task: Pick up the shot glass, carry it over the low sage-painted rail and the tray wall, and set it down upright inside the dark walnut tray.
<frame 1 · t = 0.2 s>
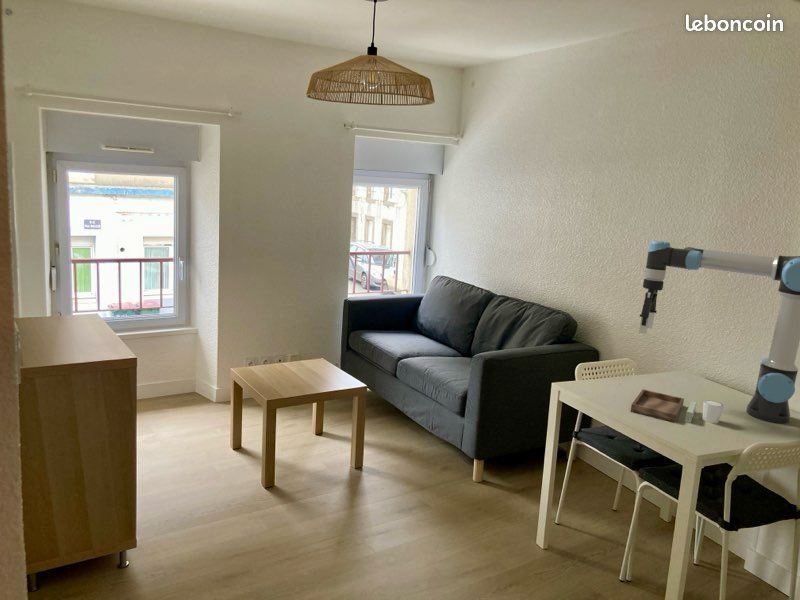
hand: (645, 330, 263), 28 cm above the table, fingers open, 13 cm apart
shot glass: (710, 421, 245), on the table
tray: (657, 408, 253), on the table
rail: (690, 416, 248), on the table
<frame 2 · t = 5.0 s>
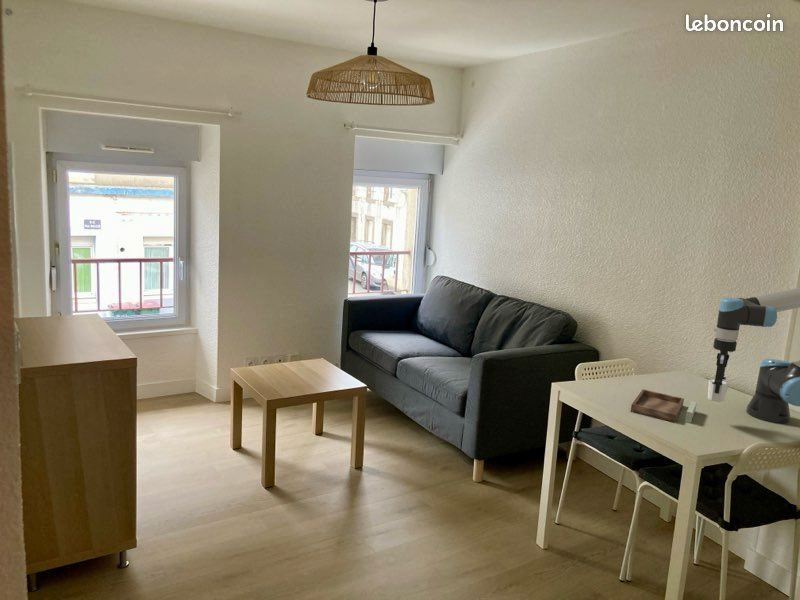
hand: (716, 398, 243), 9 cm above the table, fingers closed on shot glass, 7 cm apart
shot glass: (715, 399, 244), point 8 cm above the table, touching gripper
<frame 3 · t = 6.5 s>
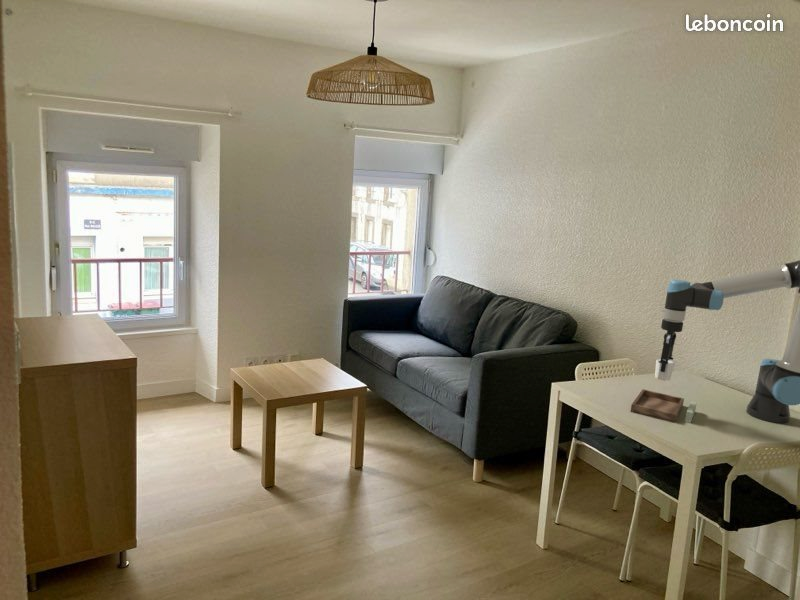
hand: (662, 377, 251), 13 cm above the table, fingers closed on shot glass, 7 cm apart
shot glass: (662, 378, 251), point 12 cm above the table, touching gripper
when the fingers open (2 cm above the table, at t = 8.4 s): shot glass stays where it is, resting on tray.
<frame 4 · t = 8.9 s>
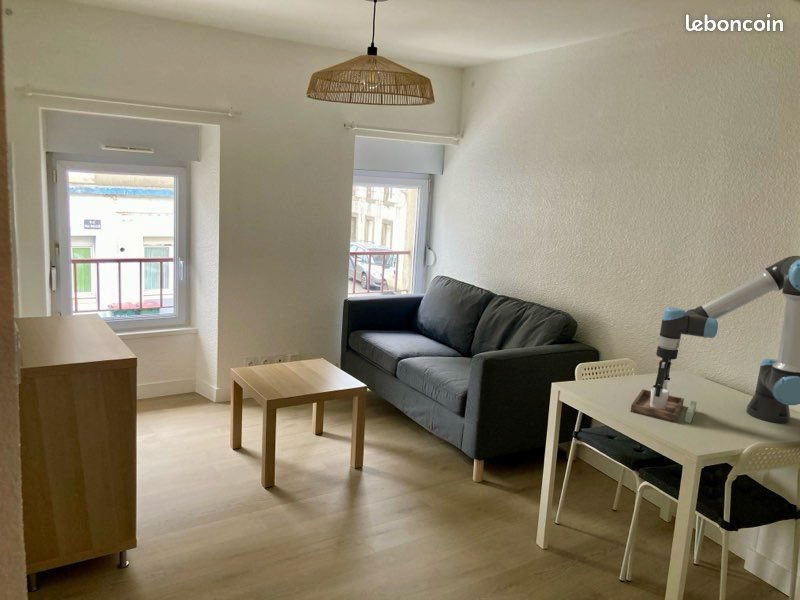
hand: (658, 399, 253), 4 cm above the table, fingers open, 13 cm apart
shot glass: (657, 407, 253), point 1 cm above the table, touching tray
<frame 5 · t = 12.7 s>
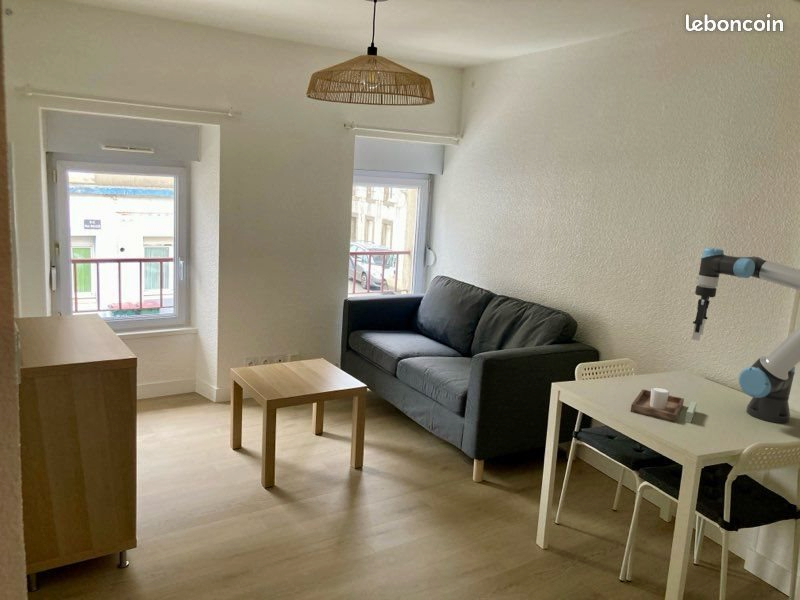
hand: (697, 337, 264), 27 cm above the table, fingers open, 13 cm apart
nothing on the table moved.
at the end: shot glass inside the target area on the tray (0.2 cm from its centre), point 0.6 cm above the tray's base; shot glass tilted 0°; the gripper is holding nothing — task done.
